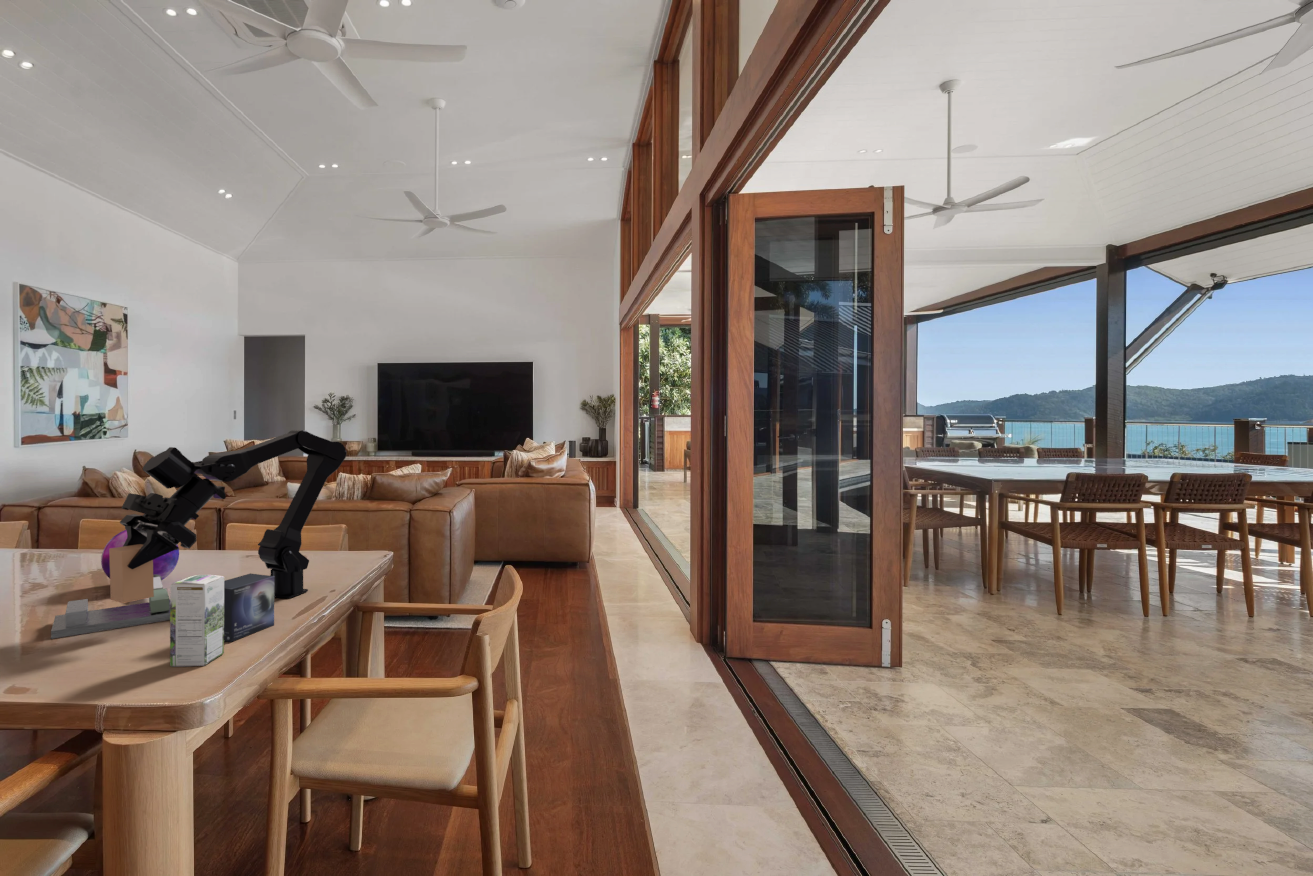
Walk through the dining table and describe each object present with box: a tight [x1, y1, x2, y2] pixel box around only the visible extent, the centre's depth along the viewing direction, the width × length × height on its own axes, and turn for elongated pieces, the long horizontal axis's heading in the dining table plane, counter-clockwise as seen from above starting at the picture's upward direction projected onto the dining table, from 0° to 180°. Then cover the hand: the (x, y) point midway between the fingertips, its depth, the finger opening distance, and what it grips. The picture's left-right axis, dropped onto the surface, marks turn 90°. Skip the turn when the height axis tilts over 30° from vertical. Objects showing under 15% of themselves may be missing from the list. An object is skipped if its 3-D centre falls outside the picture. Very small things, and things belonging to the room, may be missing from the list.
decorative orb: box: [100, 529, 180, 581], centre depth 157 cm, size 15×15×15 cm
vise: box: [50, 598, 170, 640], centre depth 132 cm, size 22×12×4 cm, turn 131°
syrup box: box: [169, 574, 225, 667], centre depth 110 cm, size 6×6×14 cm
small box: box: [224, 572, 275, 643], centre depth 125 cm, size 11×6×10 cm, turn 168°
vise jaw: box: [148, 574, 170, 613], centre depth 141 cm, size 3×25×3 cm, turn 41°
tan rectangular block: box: [109, 544, 154, 604], centre depth 124 cm, size 5×5×10 cm
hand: (122, 566), depth 123 cm, fingers closed on tan rectangular block, 5 cm apart
